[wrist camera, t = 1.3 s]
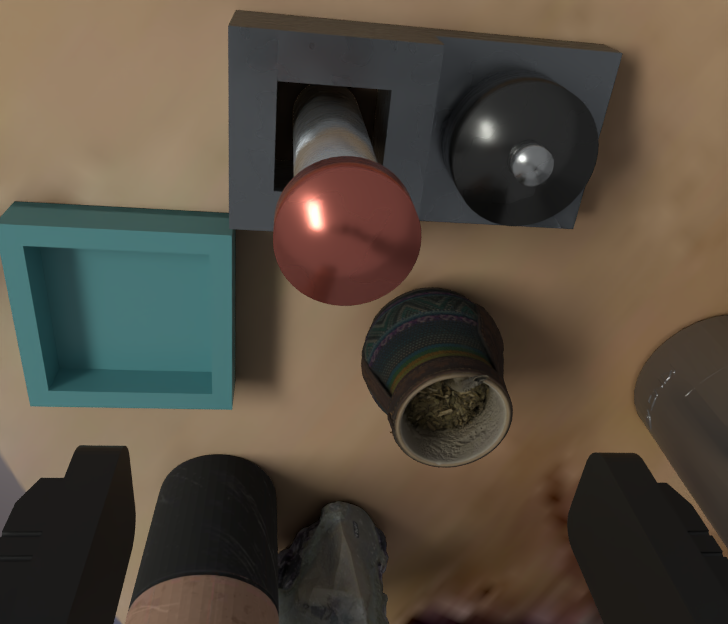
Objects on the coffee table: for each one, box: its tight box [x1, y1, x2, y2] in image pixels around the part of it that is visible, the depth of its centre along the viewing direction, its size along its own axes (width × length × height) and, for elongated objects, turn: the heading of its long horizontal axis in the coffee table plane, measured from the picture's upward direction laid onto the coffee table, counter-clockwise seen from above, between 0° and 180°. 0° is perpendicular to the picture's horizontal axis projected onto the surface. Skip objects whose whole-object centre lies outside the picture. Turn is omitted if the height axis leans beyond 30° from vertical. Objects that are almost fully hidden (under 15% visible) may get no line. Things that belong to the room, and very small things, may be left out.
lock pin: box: [273, 84, 421, 306], centre depth 25 cm, size 4×4×13 cm
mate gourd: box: [361, 287, 513, 468], centre depth 33 cm, size 7×8×10 cm
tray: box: [0, 201, 236, 410], centre depth 33 cm, size 10×10×2 cm
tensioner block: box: [228, 10, 622, 231], centre depth 28 cm, size 16×8×5 cm, turn 84°
